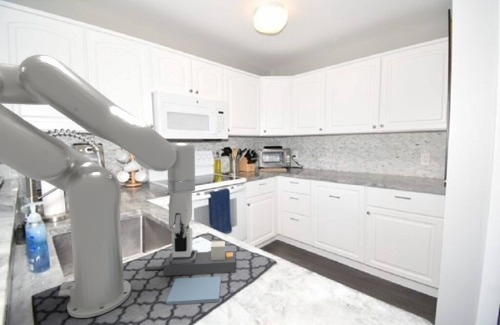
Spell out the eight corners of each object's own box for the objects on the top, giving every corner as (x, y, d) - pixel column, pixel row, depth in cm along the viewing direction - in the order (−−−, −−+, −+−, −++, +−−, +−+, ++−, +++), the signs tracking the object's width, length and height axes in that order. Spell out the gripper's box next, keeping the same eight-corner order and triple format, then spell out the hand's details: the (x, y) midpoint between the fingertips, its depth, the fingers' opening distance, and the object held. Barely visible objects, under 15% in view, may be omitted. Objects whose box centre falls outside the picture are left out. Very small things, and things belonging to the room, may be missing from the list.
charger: (172, 257, 64) (171, 229, 64) (175, 250, 68) (175, 224, 68) (190, 256, 65) (189, 228, 64) (192, 250, 69) (192, 223, 68)
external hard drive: (202, 258, 74) (182, 247, 83) (221, 250, 80) (201, 240, 88) (202, 254, 74) (182, 242, 82) (221, 245, 80) (201, 236, 88)
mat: (166, 305, 52) (166, 301, 52) (175, 281, 61) (175, 278, 61) (219, 301, 53) (219, 298, 53) (220, 279, 62) (220, 276, 62)
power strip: (139, 277, 63) (138, 252, 62) (148, 263, 70) (147, 241, 69) (235, 272, 65) (235, 248, 64) (235, 259, 72) (234, 238, 71)
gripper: (175, 181, 73) (176, 236, 74) (159, 191, 57) (160, 262, 58) (199, 181, 74) (199, 236, 75) (189, 191, 57) (190, 261, 58)
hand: (182, 246), depth 66 cm, fingers closed on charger, 4 cm apart
